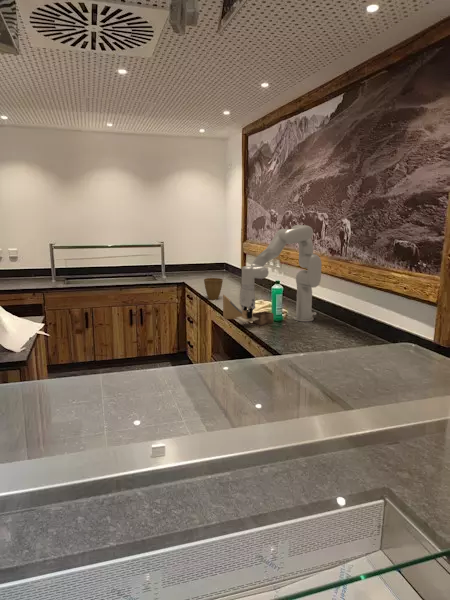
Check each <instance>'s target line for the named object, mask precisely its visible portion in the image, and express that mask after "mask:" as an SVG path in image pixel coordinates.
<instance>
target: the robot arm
mask: <svg viewBox="0 0 450 600" xmlns="http://www.w3.org/2000/svg"><path fill="white" fill-rule="evenodd" d="M313 236H314V229H313V228H312V226H309V225H305V224H304V225H303V224H296V225H293V226H291V228H290V229H289V228H280V229H279V230H278V231H277V232H276V234H275V235H274V236H273V237H272V239H271V241H270V243H269V244H268V246H267V247H266V248H265V249H263V251H262V252H260V253H259V254H258V255H256V257H255V258H254V260H253V262H252V263H251V264H250V265H245V266H244V265H243V266H242V267H241V288H240V293H239V305H240V306H241V311H242V310H248V312H247V318H252V316H253V315H252V311H253V312H254V309H256V292H255V279H266V278H267V277H268V276H269V272H270V271H269V269H268V268H267V267H266V266H265V265H266V264H267V263H268V262H270V261H271V260H274V259H276V258H278V257H279V256H280V255H281V253H282V251H283V250H284V248H285V246H286V245H287V244H288V245H289V244H290V245H291V244H296V243H298V265H299V266H300V268H303V269H301V270H299V271H298V272H297V273H296V277H295V283H296V307H295V308H296V310H295V313H296V314H295V316H293V320H294V321H297V322H302V323H303V322H312V321H314V319H315V318H314V317H313V316H316V315H317V312H316V311H312V306H313V305H312V304H313V302H312V301H313V289H312V288H316V287H318V286H319V285H320V283H321V280H322V263H323V262H322V259H321V257H320V256H319V255H318V254H316V253H314V243H313V239H312V238H313ZM306 269H307V270H306Z"/></svg>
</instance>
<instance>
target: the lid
mask: <svg viewBox="0 0 450 600" xmlns="http://www.w3.org/2000/svg"><path fill="white" fill-rule="evenodd" d="M241 311H242V317H236V319H235V320H239V321H240V322H243V323H252V322H253V321H255V320H258V319H259V318H257V317H253V313H254V310H253V311H252V318H247V312H248V309H247V310H242V309H241Z"/></svg>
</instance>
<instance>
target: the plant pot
mask: <svg viewBox="0 0 450 600" xmlns="http://www.w3.org/2000/svg"><path fill="white" fill-rule="evenodd" d="M223 281H224V279H222V278H218V277H207V278H206V277H205V278H204V279H203V283H204V289H205V292H206V295H207V298H208V300H211V301H216V300H215V299H217V300H219V297H220V294H221V291H222V287H223Z"/></svg>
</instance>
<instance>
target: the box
mask: <svg viewBox="0 0 450 600" xmlns="http://www.w3.org/2000/svg"><path fill="white" fill-rule="evenodd" d="M252 316H253V317H257V318H259V319H258V320H255V321H252V324H255V325H258V326H265V325H270V324H274V313H273V312H269V311H264V310H263V311H258V312H253V315H252Z"/></svg>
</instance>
